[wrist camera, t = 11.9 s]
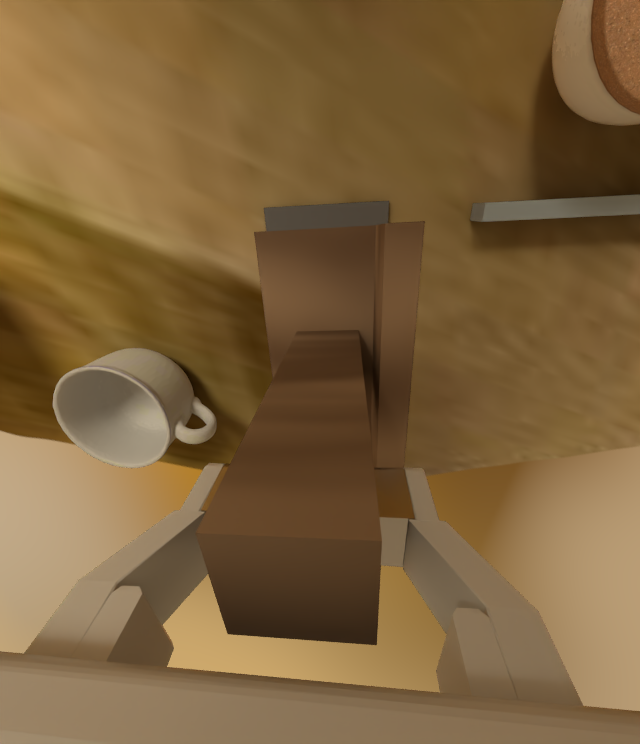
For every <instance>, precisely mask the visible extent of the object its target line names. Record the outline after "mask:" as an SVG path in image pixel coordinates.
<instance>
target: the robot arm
mask: <svg viewBox="0 0 640 744" xmlns="http://www.w3.org/2000/svg"><path fill="white" fill-rule="evenodd" d="M229 465H230V464H227V463H226V464H220V463H209V464H208V465H206V466H205V467H204V469H203V471H202V473H201V475H200V476H199V478H198V480H197V482H196V483H195V485H194V487H193V489H192V490H191V492H190V494H189V495H188V498H187V499H186V501H185V502H184V504H183V506H182V508H181V510H180V511H179V510H175V511H173V512H172V513H170V514H169V515H168V516H166V517H165V518H164V519H162V520H161V521H159V522H158V523H157V524H155V525H154V526H152V527H151V528H150V529H148V530H147V531H146V532H144V533H143V534H141V535H140V536H139V537H137V538H136V539H135V540H133V541H132V542H130V543H129V544H128V545H126V546H125V547H123V548H122V549H121V550H119V551H118V552H117V553H115V554H114V555H113V556H111V557H110V558H108V559H107V560H106V561H104V562H103V563H101V564H100V565H99V566H97V567H96V568H95V569H93V570H92V571H91V572H89V573H88V574H86V575H85V576H84V577H82V578H81V579H79V580H78V582H77V583H76V584H75V586H74V587H73V588H72V589H71V591H70V592H69V594H68V595H67V596H66V598H65V599H64V600H63V602H62V603H61V604H60V606H59V607H58V609H57V610H56V611H55V612H54V614H53V615H52V617H51V618H50V619H49V621H48V622H47V623H46V625H45V626H44V627H43V629H42V630H41V631H40V633H39V634H38V635H37V637H36V638H35V639H34V641H33V642H32V643H31V645H30V646H29V648H28V649H27V650H26V652H25V653H24V654H22V653H11V652H0V744H640V711H631V710H620V709H609V708H599V707H587V706H583V704H582V702H581V700H580V698H579V696H578V693H577V691H576V689H575V687H574V685H573V683H572V681H571V679H570V677H569V674H568V673H567V670H566V668H565V666H564V664H563V662H562V660H561V658H560V656H559V653H558V651H557V649H556V647H555V645H554V643H553V641H552V639H551V637H550V634H549V632H548V630H547V628H546V626H545V624H544V622H543V620H542V618H541V616H540V614H539V612H538V610H536V609H535V607H533V606H532V605H531V604H530V603H529V602H528V601H527V600H526V599H525V598H524V597H523V596H522V595H521V594H520V593H519V592H518V591H517V590H516V589H515V588H514V587H513V586H512V585H511V584H510V583H509V582H508V581H507V580H506V579H505V578H504V577H503V576H502V575H501V574H499V573H498V572H497V571H496V570H495V569H494V568H493V567H492V566H491V565H490V564H489V563H488V562H487V561H486V560H485V559H484V558H483V557H482V556H481V555H480V554H479V553H478V552H477V551H476V550H475V549H474V548H473V547H472V546H471V545H469V543H468V542H467V541H465V540H464V539H463V538H462V537H461V536H460V535H459V534H458V533H457V532H456V531H455V530H454V529H453V528H452V527H451V526H450V525H449V524H448V523H447V522H446V521H439V518H438V515H437V511H436V508H435V505H434V501H433V498H432V495H431V492H430V488H429V484H428V481H427V478H426V474H425V471H424V470H423V468H389V467H374V473H375V482H376V491H377V500H378V509H379V518H380V527H381V536H382V551H381V565H384V566H386V565H387V566H397V567H403V569H404V571H405V572H406V574H407V575H408V577H409V578H410V580H411V581H412V583H413V584H414V586H415V588H416V589H417V590H418V592H419V594H420V595H421V597H422V598H423V600H424V601H425V602H426V604H427V606H428V607H429V609H430V610H431V612H432V613H433V615H434V616H435V618H436V619H437V621H438V622H439V624H440V625H441V627H442V628H443V630H444V631H445V633H446V634H447V635H446V639H445V642H444V646H443V649H442V653H441V656H440V659H439V663H438V666H437V670H436V672H437V678H438V683H439V689H440V693H439V692H428V691H417V690H407V689H396V688H386V687H375V686H364V685H353V684H343V683H332V682H321V681H310V680H300V679H290V678H279V677H278V678H277V677H268V676H258V675H247V674H236V673H225V672H215V671H203V670H193V669H183V668H172V667H167V665H168V662H169V660H170V657H171V655H172V652H173V649H174V647H173V644H172V641H171V639H170V638H169V636H168V634H167V632H166V631H165V629H164V628H163V624H164V623H165V621H166V620H167V619H168V618H169V617H170V616H171V615H172V614H173V612H174V611H175V610H176V609H177V608H178V607H179V606H180V605H181V603H182V602H183V601H184V600H185V599H186V598H187V597H188V596H189V595H190V593H191V592H192V591H193V590H194V589H195V588H196V587H197V586H198V584H199V583H200V582H201V581H202V580H203V579H204V578H205V577H206V575H207V574H208V571H207V568H206V565H205V562H204V559H203V556H202V552H201V549H200V546H199V543H198V540H197V537H196V534H195V533H196V531H197V529H198V527H199V525H200V523H201V521H202V519H203V517H204V515H205V513H206V511H207V509H208V507H209V505H210V503H211V501H212V499H213V497H214V495H215V493H216V491H217V489H218V487H219V485H220V483H221V481H222V479H223V477H224V475H225V473H226V471H227V469H228V467H229Z"/></svg>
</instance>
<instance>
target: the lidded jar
mask: <svg viewBox="0 0 640 744" xmlns="http://www.w3.org/2000/svg"><path fill="white" fill-rule="evenodd" d="M552 70H553V75H554V81H555V84H556V87H557V89H558V92H559V94H560V96H561V98H562V99H563V101H564V102H565V104H566V105H567V106H568V107H569V108H570V109H571V110H572V111H573V112H575V113H576V114H578V115H579V116H581V117H583V118H584V119H586V120H589V121H592V122H595V123H598V124H606V125H617V126H624V125H637V124H640V0H563V3H562V6H561V9H560V12H559V15H558V18H557V23H556V27H555V32H554V36H553V46H552Z"/></svg>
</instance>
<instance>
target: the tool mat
mask: <svg viewBox="0 0 640 744" xmlns="http://www.w3.org/2000/svg"><path fill="white" fill-rule="evenodd" d="M264 213H265V222H266V230H267V231H283V230H301V229H319V228H336V227H354V226H372V225H380V224H385V223H388V214H389V201H376V202H358V203H341V204H323V205H305V206H287V207H270V208H264Z"/></svg>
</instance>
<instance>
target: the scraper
mask: <svg viewBox="0 0 640 744" xmlns="http://www.w3.org/2000/svg"><path fill="white" fill-rule="evenodd" d="M424 224H425V221H420V222H402V223H385V224H380V225H372V226H354V227H336V228H319V229H301V230H283V231H265V232H254V235H255V243H256V250H257V258H258V266H259V274H260V282H261V290H262V298H263V305H264V313H265V321H266V329H267V337H268V345H269V353H270V360H271V368H272V376H273V380H272V382H271V384H270V386H269V388H268V390H267V392H266V394H265V396H264V398H263V400H262V402H261V404H260V406H259V408H258V410H257V412H256V414H255V416H254V418H253V420H252V422H251V424H250V426H249V428H248V430H247V432H246V434H245V435H244V437H243V439H242V441H241V443H240V445H239V447H238V449H237V451H236V453H235V455H234V457H233V459H232V461H231V463H230V465H229V467H228V469H227V471H226V473H225V475H224V477H223V479H222V481H221V483H220V485H219V487H218V489H217V491H216V493H215V495H214V497H213V499H212V501H211V503H210V505H209V507H208V509H207V511H206V513H205V515H204V517H203V519H202V521H201V523H200V525H199V527H198V529H197V531H196V533H195V534H196V537H197V540H198V543H199V546H200V549H201V552H202V556H203V559H204V562H205V565H206V568H207V571H208V574H209V577H210V580H211V583H212V586H213V589H214V593H215V596H216V599H217V602H218V605H219V608H220V612H221V615H222V618H223V621H224V624H225V627H226V630H227V633H228V634H233V635H247V636H260V637H274V638H287V639H288V638H289V639H302V640H316V641H329V642H342V643H356V644H369V645H377V628H378V609H379V608H378V607H379V589H380V570H381V551H382V536H381V527H380V518H379V509H378V500H377V491H376V482H375V473H374V467H389V468H404V462H405V450H406V438H407V426H408V414H409V402H410V390H411V378H412V366H413V354H414V343H415V331H416V319H417V307H418V295H419V283H420V271H421V259H422V247H423V235H424Z"/></svg>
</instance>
